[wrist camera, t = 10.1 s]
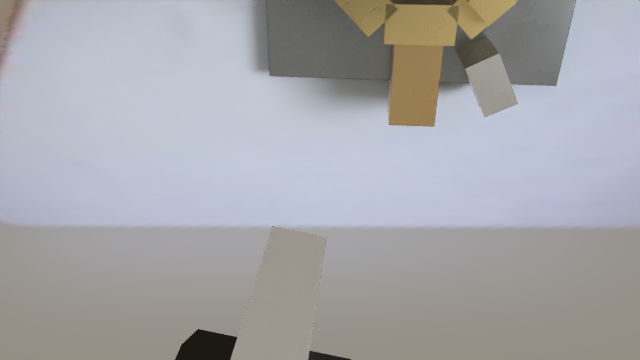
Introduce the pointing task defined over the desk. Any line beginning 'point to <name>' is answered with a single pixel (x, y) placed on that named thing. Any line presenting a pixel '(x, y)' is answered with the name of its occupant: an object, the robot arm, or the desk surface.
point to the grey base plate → (457, 61)
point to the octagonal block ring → (420, 45)
